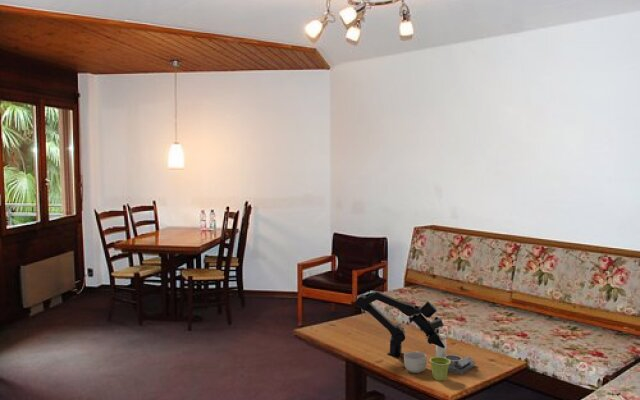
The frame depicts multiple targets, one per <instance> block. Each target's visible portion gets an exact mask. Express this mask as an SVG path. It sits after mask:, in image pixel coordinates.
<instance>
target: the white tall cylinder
mask: <svg viewBox="0 0 640 400" xmlns="http://www.w3.org/2000/svg"><path fill="white" fill-rule="evenodd" d="M439 336H440V337H439V339H440V340H441V341H442V343H443V344H444V346H445V347H444V348H442V347H439V346H437V345H435V357H443V358H444V356H446V355H447V338H448V337H447V334H444V333H439Z"/></svg>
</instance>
